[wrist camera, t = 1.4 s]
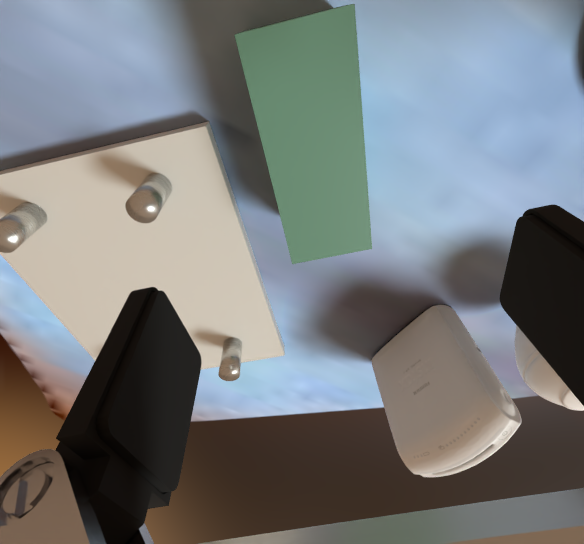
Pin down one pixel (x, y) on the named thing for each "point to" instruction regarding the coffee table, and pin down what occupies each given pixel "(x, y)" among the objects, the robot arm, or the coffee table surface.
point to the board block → (312, 129)
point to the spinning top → (542, 374)
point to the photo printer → (442, 396)
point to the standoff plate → (141, 243)
